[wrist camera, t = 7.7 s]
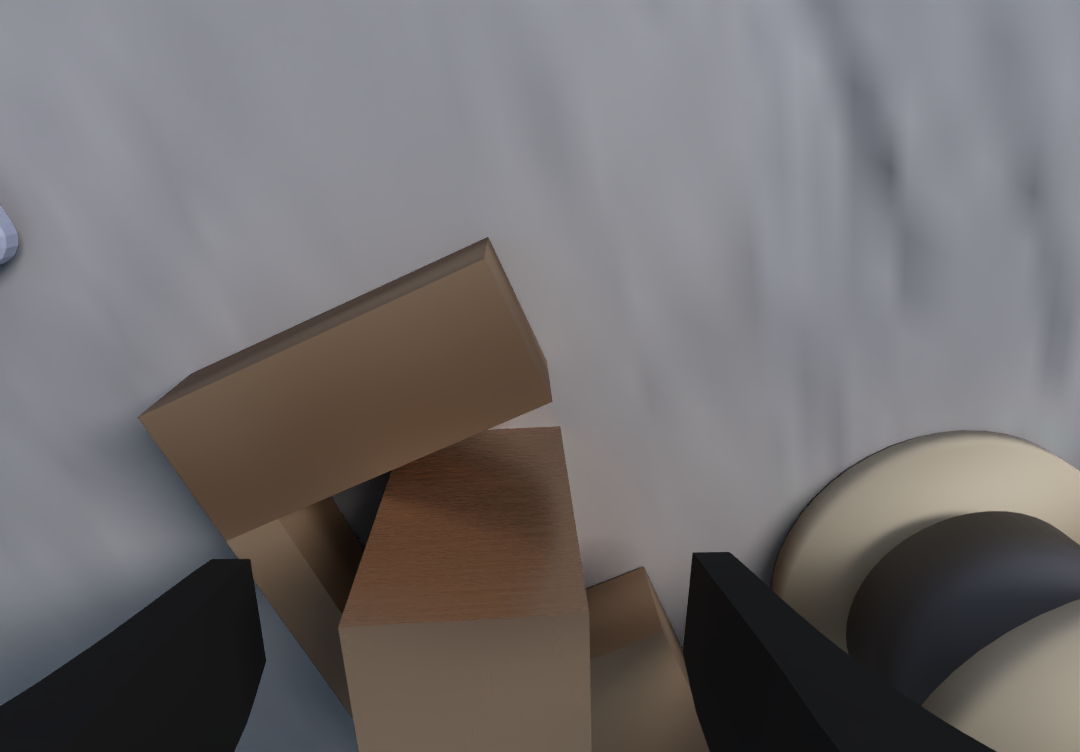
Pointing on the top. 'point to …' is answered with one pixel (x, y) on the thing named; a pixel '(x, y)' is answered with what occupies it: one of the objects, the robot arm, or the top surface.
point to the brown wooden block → (472, 605)
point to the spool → (953, 582)
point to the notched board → (388, 443)
